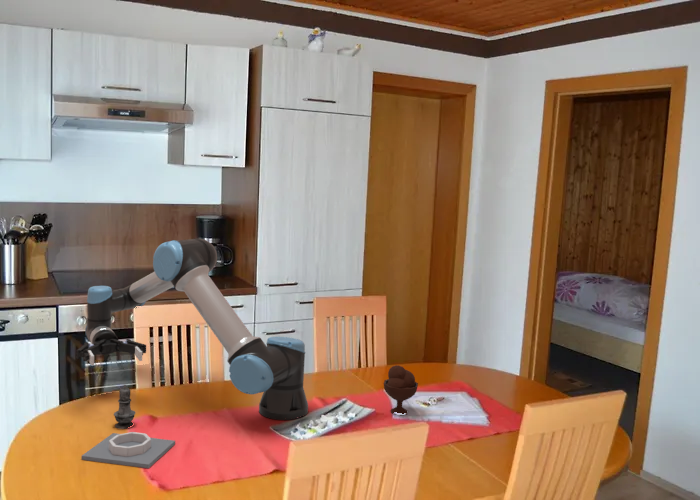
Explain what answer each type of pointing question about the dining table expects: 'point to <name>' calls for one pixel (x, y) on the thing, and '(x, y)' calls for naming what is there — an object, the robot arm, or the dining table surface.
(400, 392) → the ice cream bowl
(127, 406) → the chess piece
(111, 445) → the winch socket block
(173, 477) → the dining table surface
